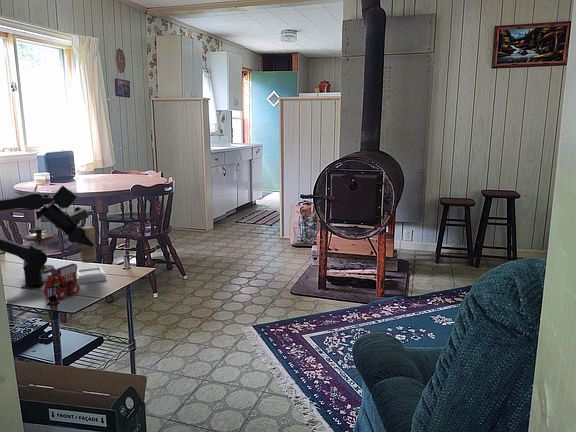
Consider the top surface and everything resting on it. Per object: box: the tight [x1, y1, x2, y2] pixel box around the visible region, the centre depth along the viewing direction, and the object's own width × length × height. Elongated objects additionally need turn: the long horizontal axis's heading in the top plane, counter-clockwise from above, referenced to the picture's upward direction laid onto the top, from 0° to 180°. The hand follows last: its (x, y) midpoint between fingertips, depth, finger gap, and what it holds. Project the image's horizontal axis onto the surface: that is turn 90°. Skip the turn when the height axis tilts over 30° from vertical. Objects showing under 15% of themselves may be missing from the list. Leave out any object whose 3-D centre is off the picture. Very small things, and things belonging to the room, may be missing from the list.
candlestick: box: [23, 184, 55, 274], centre depth 185 cm, size 11×11×35 cm
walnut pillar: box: [80, 225, 97, 264], centre depth 177 cm, size 5×5×13 cm
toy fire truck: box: [43, 263, 81, 301], centre depth 160 cm, size 7×12×10 cm, turn 153°
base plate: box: [76, 266, 107, 285], centre depth 180 cm, size 10×10×3 cm
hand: (92, 244), depth 178 cm, fingers closed on walnut pillar, 5 cm apart
